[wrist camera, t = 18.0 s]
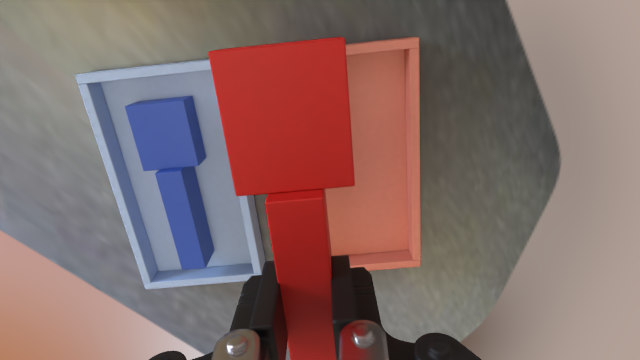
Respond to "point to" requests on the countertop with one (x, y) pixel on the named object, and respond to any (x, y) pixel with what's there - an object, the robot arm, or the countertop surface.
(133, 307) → the countertop surface
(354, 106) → the red tray
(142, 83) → the blue tray
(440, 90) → the countertop surface
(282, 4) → the countertop surface
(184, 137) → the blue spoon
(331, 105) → the red paddle block
